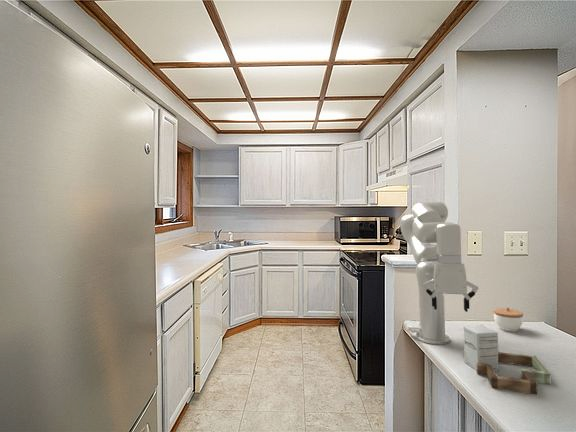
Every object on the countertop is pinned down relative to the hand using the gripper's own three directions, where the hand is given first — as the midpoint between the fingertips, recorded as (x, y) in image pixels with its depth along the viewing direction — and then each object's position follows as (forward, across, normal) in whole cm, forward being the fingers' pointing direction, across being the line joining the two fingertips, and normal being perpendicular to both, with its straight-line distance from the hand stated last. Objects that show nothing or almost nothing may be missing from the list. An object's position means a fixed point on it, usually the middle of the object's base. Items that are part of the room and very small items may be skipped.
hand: (450, 309), depth 113 cm
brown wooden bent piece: (+18, +15, -10) cm, 26 cm away
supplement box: (+19, +9, 0) cm, 21 cm away
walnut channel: (+18, +16, 0) cm, 24 cm away
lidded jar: (+18, +26, +42) cm, 53 cm away
